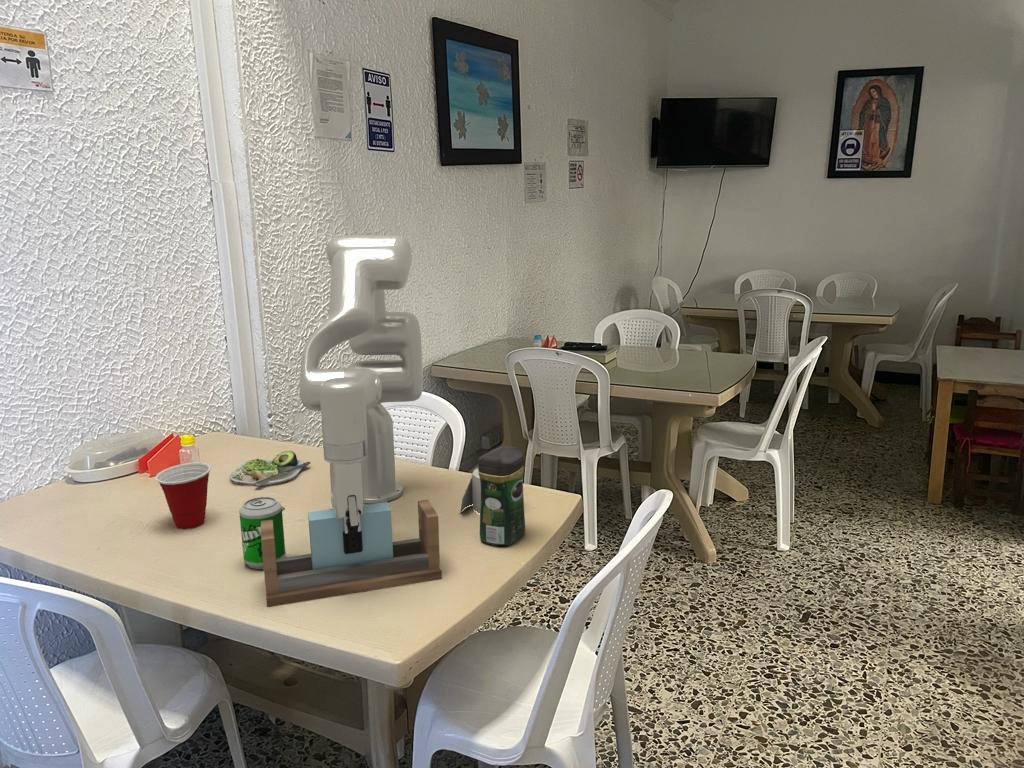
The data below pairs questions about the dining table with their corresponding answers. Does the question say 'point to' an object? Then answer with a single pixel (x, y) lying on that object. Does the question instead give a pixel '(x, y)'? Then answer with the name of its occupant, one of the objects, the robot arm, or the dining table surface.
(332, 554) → the door panel
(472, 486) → the toilet tissue
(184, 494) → the plastic cup
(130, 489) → the dining table surface
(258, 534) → the soda can
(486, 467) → the coffee jar
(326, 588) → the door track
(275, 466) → the salad plate
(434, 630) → the dining table surface
